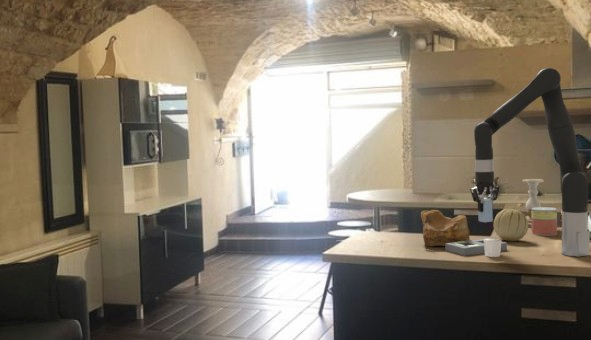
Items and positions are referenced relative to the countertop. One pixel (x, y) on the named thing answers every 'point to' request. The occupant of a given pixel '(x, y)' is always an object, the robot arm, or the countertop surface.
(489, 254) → the shot glass
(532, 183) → the candle holder
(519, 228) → the cantaloupe
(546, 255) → the countertop surface
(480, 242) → the socket panel
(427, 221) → the rough brown rock
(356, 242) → the countertop surface
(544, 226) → the canned food
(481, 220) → the light blue cylinder
